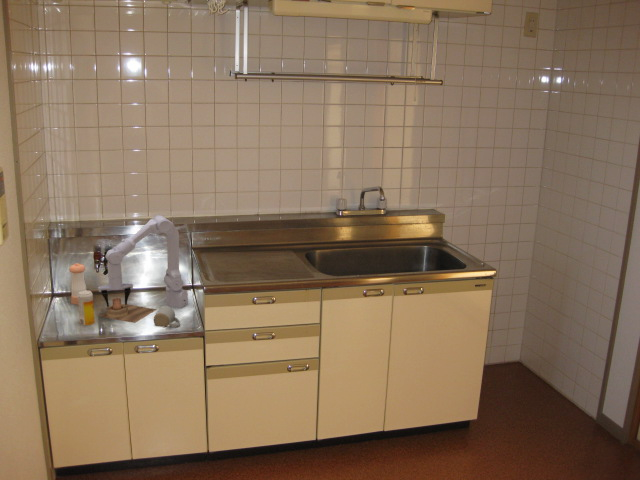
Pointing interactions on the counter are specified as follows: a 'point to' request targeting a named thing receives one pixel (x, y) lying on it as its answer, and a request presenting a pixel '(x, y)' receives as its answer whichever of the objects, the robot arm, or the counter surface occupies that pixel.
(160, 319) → the ceramic mug
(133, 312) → the board
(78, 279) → the salt shaker
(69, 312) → the counter surface
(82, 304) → the yellow labeled bottle
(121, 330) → the counter surface
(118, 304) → the peg
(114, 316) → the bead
